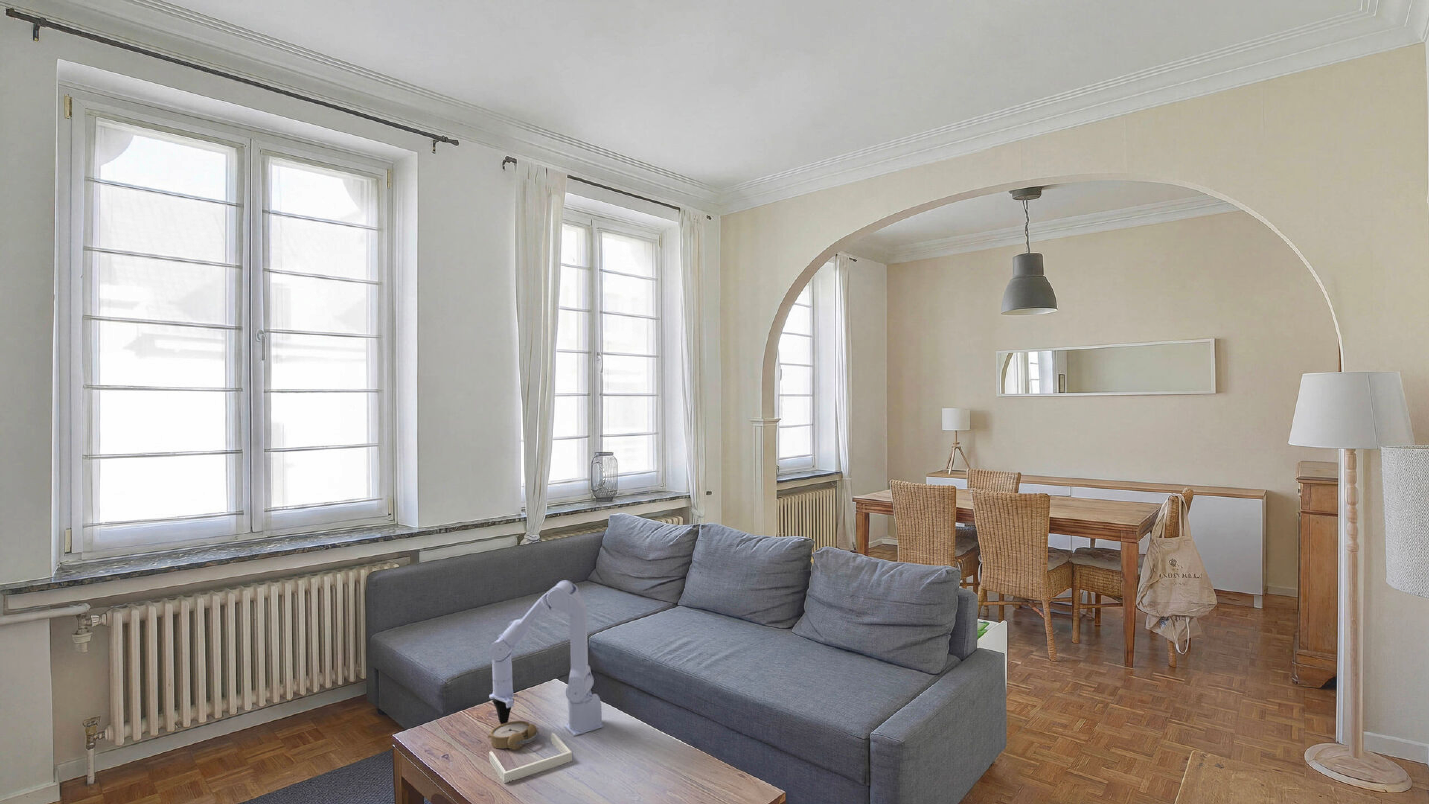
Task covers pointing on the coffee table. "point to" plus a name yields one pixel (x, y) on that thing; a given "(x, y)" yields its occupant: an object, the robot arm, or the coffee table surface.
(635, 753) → the coffee table surface
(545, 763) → the clock dock
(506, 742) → the alarm clock
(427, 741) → the coffee table surface
